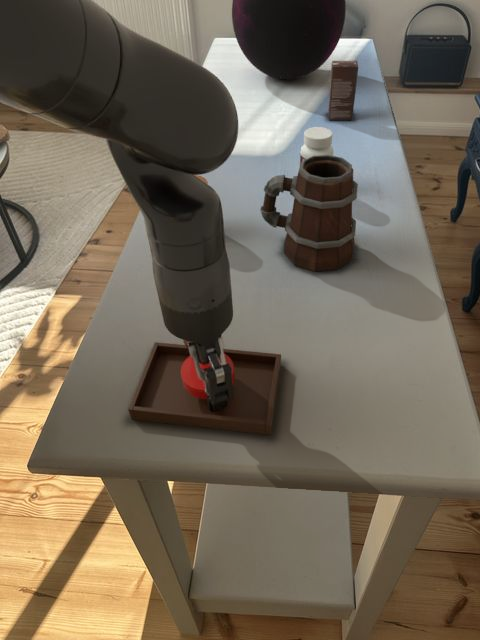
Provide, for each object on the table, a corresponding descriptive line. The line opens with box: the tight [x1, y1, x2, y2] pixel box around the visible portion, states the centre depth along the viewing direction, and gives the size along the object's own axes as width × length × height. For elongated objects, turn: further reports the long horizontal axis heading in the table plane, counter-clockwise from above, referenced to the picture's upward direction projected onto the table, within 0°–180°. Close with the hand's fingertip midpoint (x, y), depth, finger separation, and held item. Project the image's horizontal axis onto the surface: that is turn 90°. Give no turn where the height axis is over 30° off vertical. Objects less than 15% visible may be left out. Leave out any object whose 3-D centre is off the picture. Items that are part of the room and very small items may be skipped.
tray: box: [127, 341, 282, 436], centre depth 61 cm, size 17×11×2 cm, turn 82°
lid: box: [181, 353, 235, 399], centre depth 59 cm, size 6×6×2 cm
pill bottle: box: [299, 126, 334, 166], centre depth 92 cm, size 6×6×11 cm
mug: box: [259, 155, 359, 272], centre depth 77 cm, size 16×12×15 cm
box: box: [327, 60, 359, 121], centre depth 115 cm, size 6×4×12 cm
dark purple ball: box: [231, 0, 347, 80], centre depth 128 cm, size 30×30×30 cm
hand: (209, 386), depth 61 cm, fingers closed on lid, 6 cm apart
